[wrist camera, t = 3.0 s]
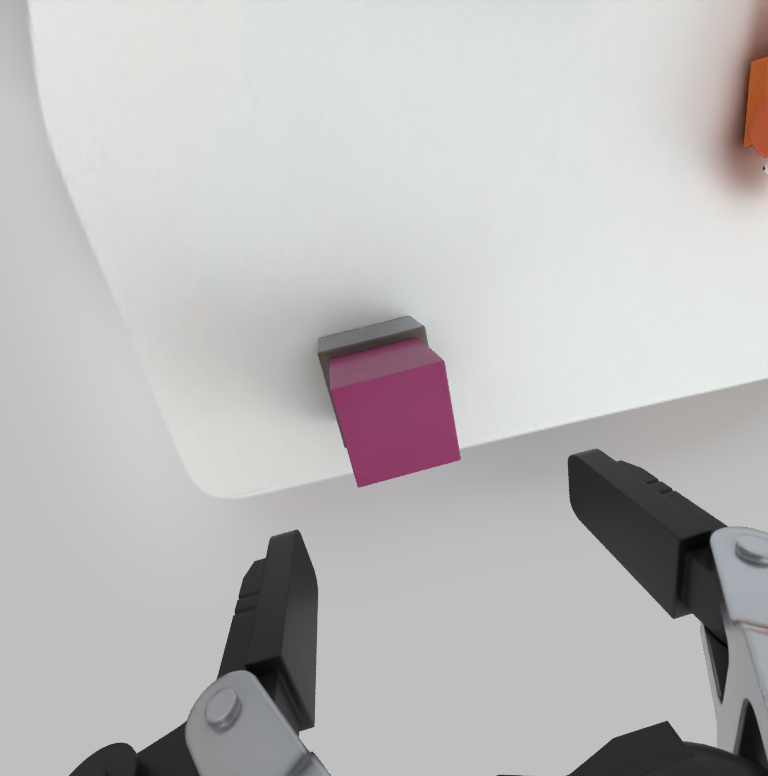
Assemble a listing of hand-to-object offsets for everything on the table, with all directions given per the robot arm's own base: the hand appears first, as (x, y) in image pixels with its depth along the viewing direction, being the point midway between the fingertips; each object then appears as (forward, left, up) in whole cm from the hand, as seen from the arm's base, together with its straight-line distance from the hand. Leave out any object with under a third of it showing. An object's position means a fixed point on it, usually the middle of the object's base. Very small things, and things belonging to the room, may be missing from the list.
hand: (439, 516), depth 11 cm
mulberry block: (0, 0, -11) cm, 11 cm away
